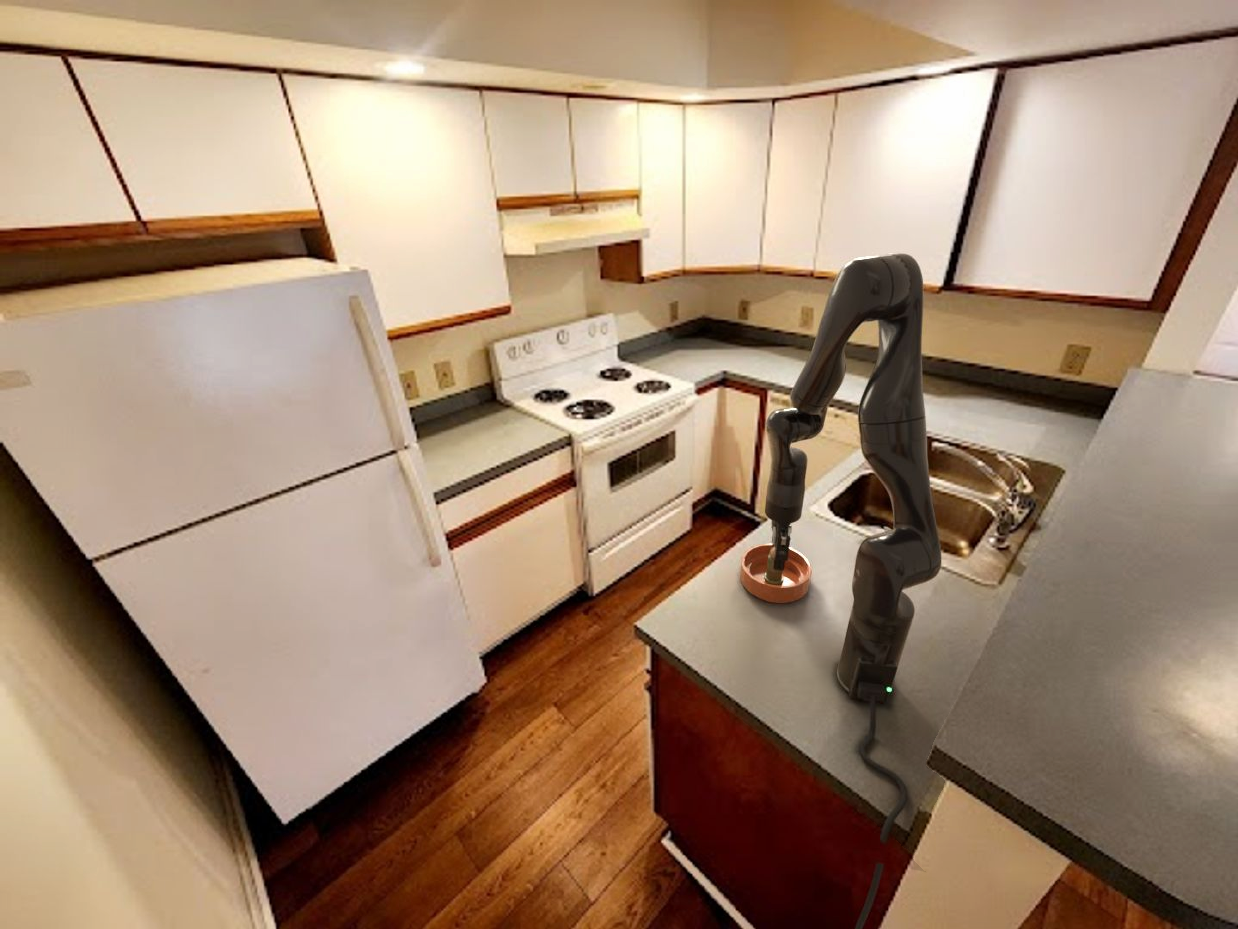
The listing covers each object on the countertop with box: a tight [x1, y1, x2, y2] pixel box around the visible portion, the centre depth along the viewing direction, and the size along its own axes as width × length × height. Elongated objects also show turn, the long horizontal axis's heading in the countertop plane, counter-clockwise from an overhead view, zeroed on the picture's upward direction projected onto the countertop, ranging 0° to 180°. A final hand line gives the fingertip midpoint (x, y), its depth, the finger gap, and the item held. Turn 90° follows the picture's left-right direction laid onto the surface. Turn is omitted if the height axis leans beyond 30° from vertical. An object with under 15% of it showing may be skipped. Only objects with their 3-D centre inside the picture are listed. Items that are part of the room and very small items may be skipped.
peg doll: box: [764, 547, 784, 585], centre depth 121 cm, size 4×4×9 cm
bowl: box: [740, 543, 813, 604], centre depth 122 cm, size 15×15×5 cm
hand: (777, 557), depth 119 cm, fingers open, 8 cm apart
